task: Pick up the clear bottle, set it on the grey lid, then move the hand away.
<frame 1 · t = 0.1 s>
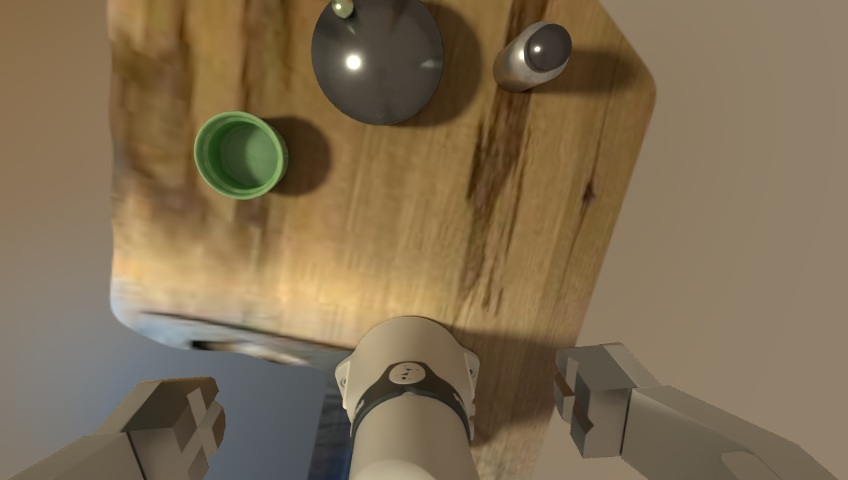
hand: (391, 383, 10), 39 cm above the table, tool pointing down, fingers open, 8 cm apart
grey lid: (380, 64, 44), on the table
clear bottle: (514, 69, 45), on the table
ramekin: (254, 155, 46), on the table
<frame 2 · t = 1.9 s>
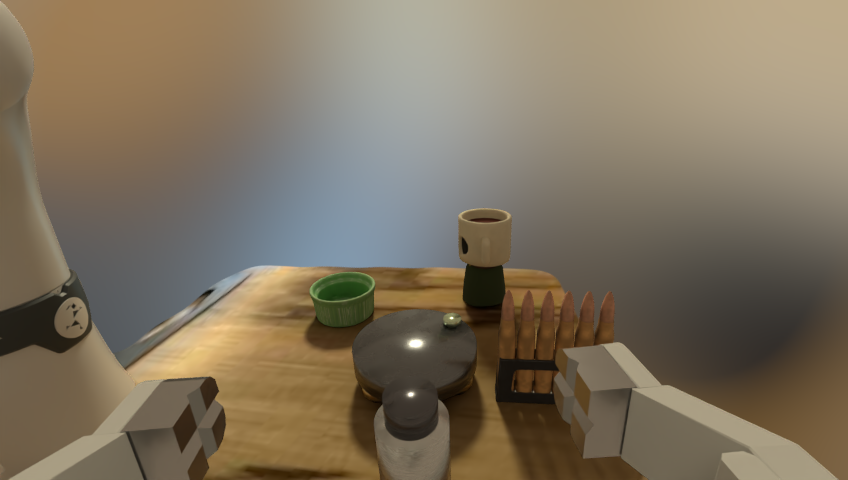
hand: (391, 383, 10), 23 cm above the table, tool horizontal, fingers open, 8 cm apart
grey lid: (416, 376, 44), on the table
character mug: (483, 301, 59), on the table
ammunition clip: (549, 398, 40), on the table
ramekin: (346, 314, 57), on the table
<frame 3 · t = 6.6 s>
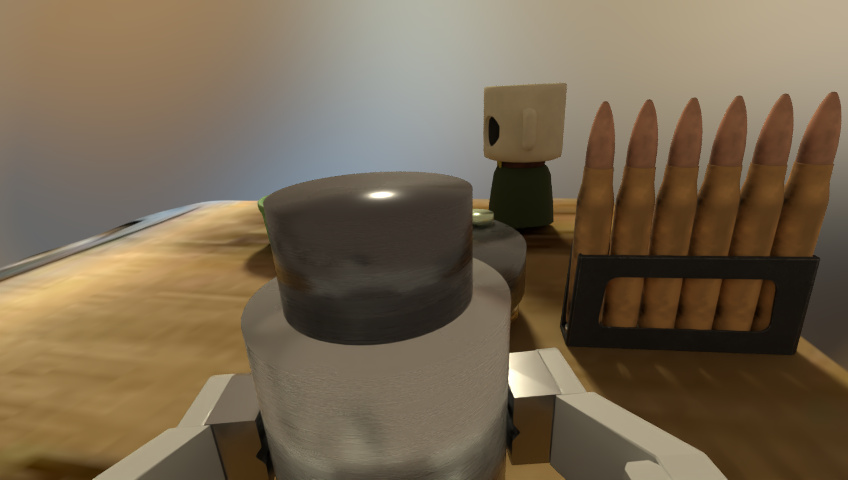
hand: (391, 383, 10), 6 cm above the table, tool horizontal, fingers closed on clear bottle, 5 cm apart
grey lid: (415, 309, 25), on the table
character mug: (519, 227, 40), on the table
ammunition clip: (668, 343, 21), on the table
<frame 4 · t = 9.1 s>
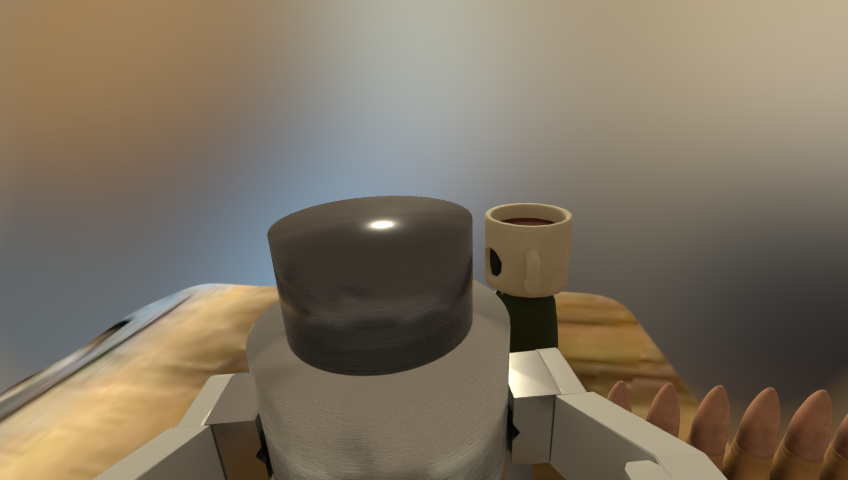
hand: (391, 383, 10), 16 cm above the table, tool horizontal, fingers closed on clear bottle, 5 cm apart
character mug: (522, 347, 38), on the table
when the fingers open (12 cm above the table, at t = 11.4 s): clear bottle stays where it is, resting on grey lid.
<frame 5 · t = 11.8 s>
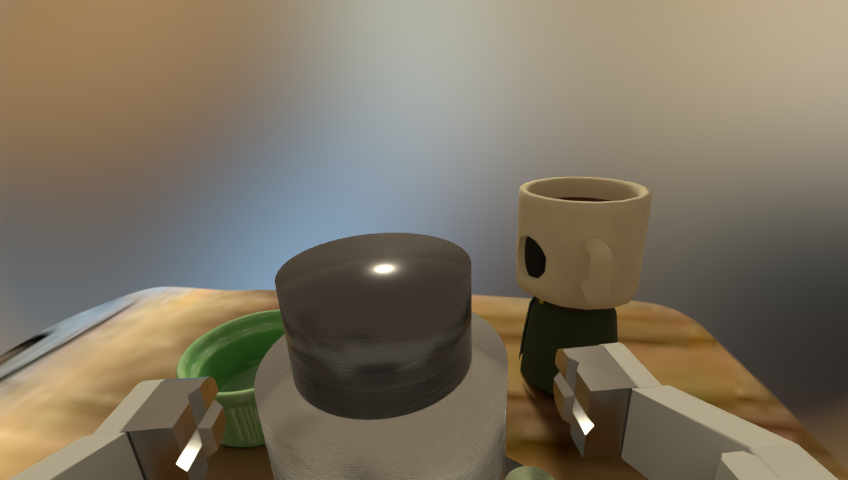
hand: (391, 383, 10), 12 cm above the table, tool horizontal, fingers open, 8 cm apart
character mug: (565, 376, 28), on the table
ramekin: (270, 403, 27), on the table
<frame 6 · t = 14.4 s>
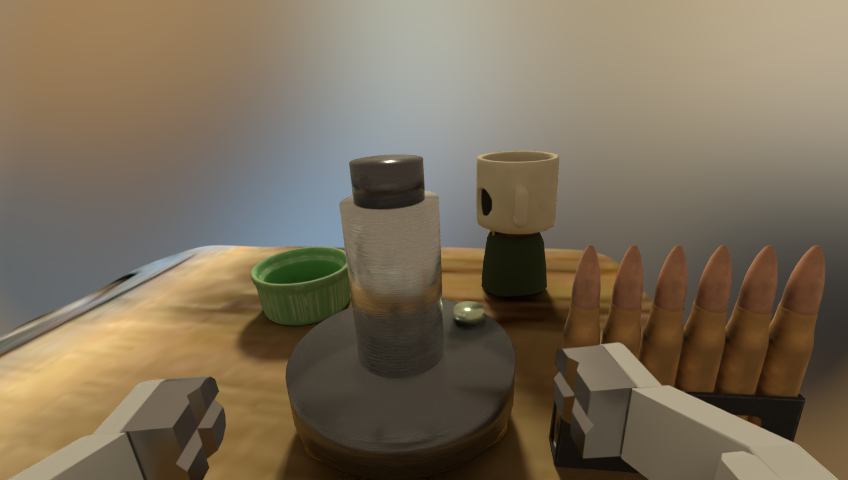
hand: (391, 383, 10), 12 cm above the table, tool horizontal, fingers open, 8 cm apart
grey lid: (406, 410, 25), on the table
clear bottle: (401, 349, 23), point 5 cm above the table, touching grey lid
character mug: (512, 290, 40), on the table
ammunition clip: (656, 462, 21), on the table
ramekin: (309, 307, 39), on the table
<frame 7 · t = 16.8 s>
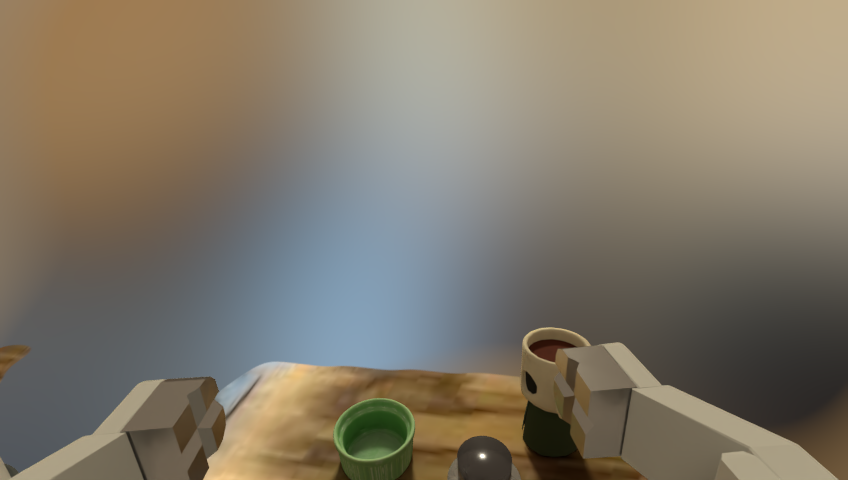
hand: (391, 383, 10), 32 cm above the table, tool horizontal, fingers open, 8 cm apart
character mug: (549, 441, 47), on the table
ramekin: (377, 457, 46), on the table
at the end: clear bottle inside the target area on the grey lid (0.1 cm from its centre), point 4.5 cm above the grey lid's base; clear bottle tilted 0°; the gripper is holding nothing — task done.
